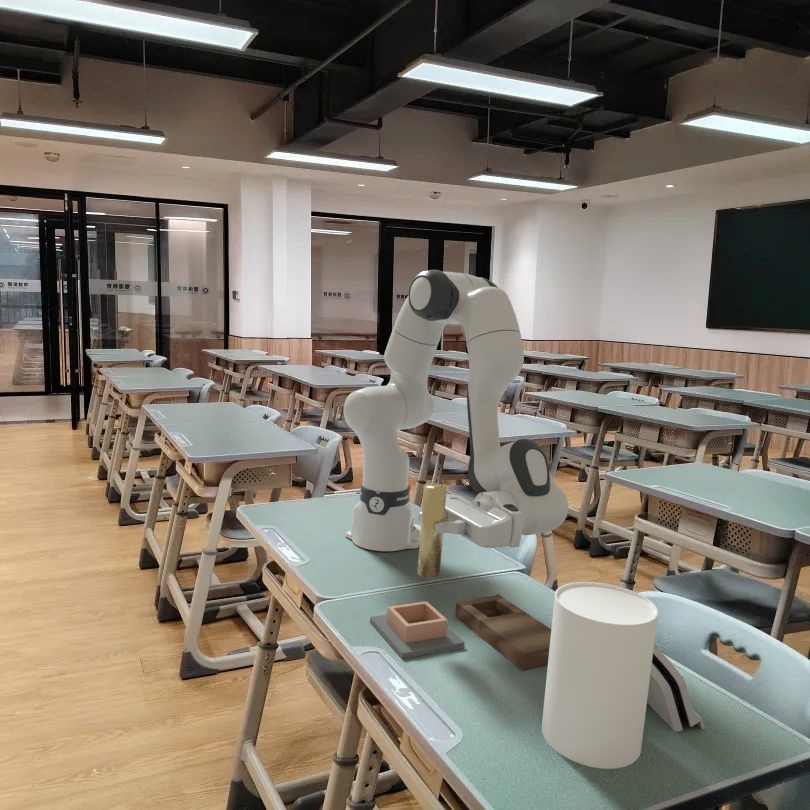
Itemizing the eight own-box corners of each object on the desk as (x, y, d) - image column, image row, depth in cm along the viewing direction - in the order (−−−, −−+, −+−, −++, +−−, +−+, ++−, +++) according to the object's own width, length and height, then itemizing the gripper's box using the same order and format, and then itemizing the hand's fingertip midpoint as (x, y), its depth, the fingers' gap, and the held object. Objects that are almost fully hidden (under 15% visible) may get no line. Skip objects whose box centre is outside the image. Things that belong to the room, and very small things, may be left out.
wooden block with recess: (454, 616, 131) (455, 601, 131) (497, 608, 136) (498, 594, 136) (522, 670, 113) (524, 653, 113) (569, 659, 118) (571, 642, 117)
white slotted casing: (706, 730, 100) (693, 670, 98) (677, 742, 99) (664, 682, 97) (644, 669, 116) (632, 617, 114) (619, 679, 115) (606, 627, 113)
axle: (420, 567, 125) (426, 482, 122) (442, 571, 124) (448, 485, 121) (414, 575, 121) (421, 487, 119) (436, 579, 120) (443, 490, 117)
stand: (369, 622, 127) (371, 601, 126) (427, 613, 132) (429, 593, 131) (401, 658, 114) (403, 636, 114) (464, 647, 119) (466, 626, 119)
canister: (621, 710, 103) (636, 584, 101) (656, 770, 90) (675, 627, 87) (532, 706, 103) (544, 579, 100) (554, 766, 90) (569, 622, 87)
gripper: (462, 484, 136) (401, 489, 129) (528, 515, 118) (460, 523, 111) (460, 515, 137) (399, 521, 130) (525, 550, 119) (457, 560, 112)
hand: (428, 522), depth 120 cm, fingers closed on axle, 4 cm apart
